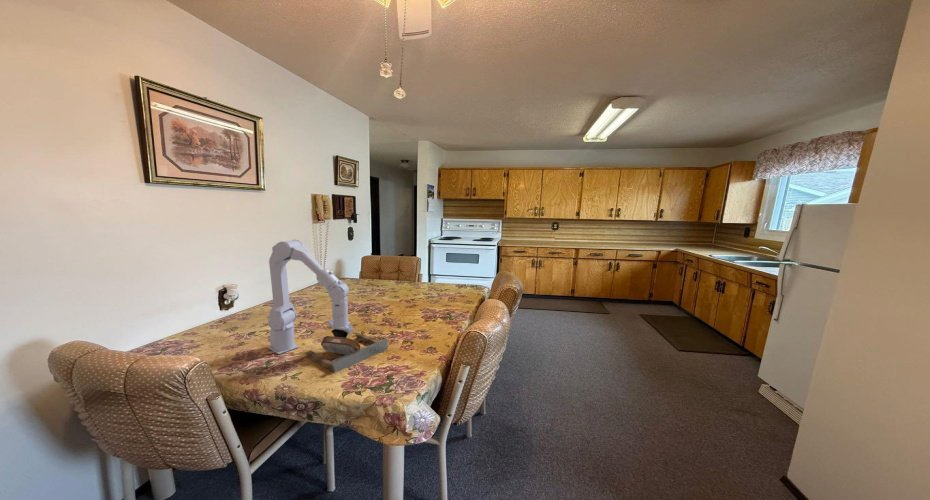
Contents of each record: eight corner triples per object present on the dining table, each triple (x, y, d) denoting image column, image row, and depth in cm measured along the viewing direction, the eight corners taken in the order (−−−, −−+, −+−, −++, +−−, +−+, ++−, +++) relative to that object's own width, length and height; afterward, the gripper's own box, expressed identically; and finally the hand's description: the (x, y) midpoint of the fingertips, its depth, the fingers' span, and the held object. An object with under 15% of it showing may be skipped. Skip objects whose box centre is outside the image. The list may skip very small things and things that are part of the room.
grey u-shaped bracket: (306, 356, 115) (306, 346, 114) (359, 337, 133) (359, 328, 133) (334, 372, 104) (334, 361, 103) (387, 349, 122) (387, 339, 122)
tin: (363, 351, 117) (357, 337, 113) (359, 358, 115) (353, 344, 110) (328, 347, 120) (321, 333, 115) (324, 354, 118) (316, 340, 113)
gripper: (359, 315, 118) (360, 347, 120) (339, 307, 127) (340, 338, 129) (343, 320, 113) (344, 354, 114) (323, 311, 121) (324, 343, 123)
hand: (341, 346), depth 121 cm, fingers closed
